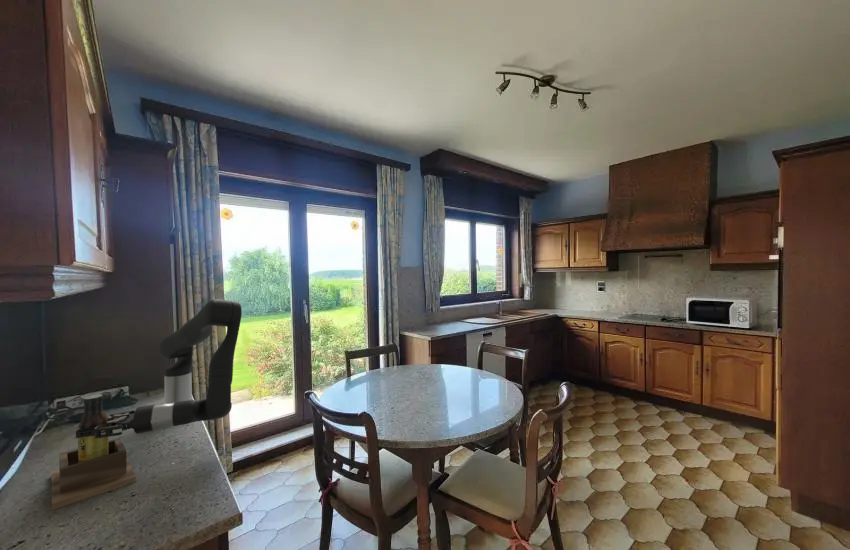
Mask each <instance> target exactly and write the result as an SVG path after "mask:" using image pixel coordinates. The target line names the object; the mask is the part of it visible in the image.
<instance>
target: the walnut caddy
mask: <svg viewBox="0 0 850 550" xmlns="http://www.w3.org/2000/svg"><path fill="white" fill-rule="evenodd" d="M108 443H109V455H105V456H102V457H98V458H95V459H91V460H87V461H84V462H80V463H78V448H75V449H71V450H67V451H63V452H60V453H59V458H58V460H59V461H58V462H59V463H58V464H59V466H58V467H59V468H58V469H55V470H51V511H54V510H56V509H60V508H62V507H66V506H69V505H72V504H74V503H78V502H81V501H84V500H87V499H89V497H90V498H92V496H93V497H96V496H98V495H101V494H105V493H107V492H110V491H114V490H115V489H118V488H121V487H125V486H128V485H131V484H133V482H134V483H136V482H137V475H136V474H135V471H134V469H133V466H132V464H131V462H130V460H129V457H128V455H127V450H126V448H125V445H124V443H123V441H122V438H121V437H118V438H114V439H110V440H109V439H108ZM86 498H87V499H86ZM83 499H84V500H83Z"/></svg>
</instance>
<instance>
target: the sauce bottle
mask: <svg viewBox="0 0 850 550" xmlns="http://www.w3.org/2000/svg"><path fill="white" fill-rule="evenodd" d="M103 401H104V395H103V394H101V393H100V394H99V393H96V394H92V395H87V396H85V397H83V401H82V403H83V410H84V411H83V415H82V416H81V420H80V421H79V425H78V426H77V430H78V429H83V428H89V427H96V426H99V425H103V424H105V423H106V422H108V417H107V416H108V415H107V413H105V412H104V411H103V409H104V408H103ZM103 431H105V430H102V431H101V432H103ZM108 441H109V437H103V438H95V436H88V437H82V438H77V449H78V463H80V462H84V461H87V460H91V459H95V458H98V457H102V456H105V455H109V443H108Z"/></svg>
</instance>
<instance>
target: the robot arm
mask: <svg viewBox="0 0 850 550" xmlns="http://www.w3.org/2000/svg"><path fill="white" fill-rule="evenodd" d="M242 311H243V310H242V305H241V304H240V302H238V301H235V300H226V299H218V298H216V299H215V298H214V299H210V300H208V301H207V302H206V303H205V304H204V306H203V307H202V308H201V309H200V310H199V311H198V313H196V314H195V315H194V316H193V317H192V318H191V319H189V320H188V321H186V322H185V323H184V324H183V325H181V327H179V328H178V329H177V330H175V331H174V332H172V333H171V334H169V335H167V336H165V337H163V338H162V339H161V341H160V343H159V346H158V353H159V355H160V356H161V358H163V359H165V360H172V359H178V358H179V359H178V360H177V361H176V362H174V363H173V364H171V365H169V366H167V367H165V368H164V372H163V373H164V374H163V375H164V381H163V382H164V402H163V403H156V404H149V405H143V406H138V407H136V409H133V410H127V411H121V412H117V413H111V414H109V415H107V417H108V422H106V423H105V424H103V425H99V426H96V427H89V428H83V429H78V428H77V430H76V431H75V438H76V439H78V438H82V437H88V436H95V438H103V437H108V438H109V437H116V436H121V435H123V433H124V432H126V431H128V430H130V429H133V433H135V434H136V435H137V434H143V433H147V432H148V433H149V432H154V431H160V430H166V429H168V428H173V427H177V426H183V425H189V424H192V423H196V422H204V421H210V420H219V419H222V418H225V417H227V416H228V414H230V412H231V411H232V406H233V404H232V385H233V384H232V383H233V378H234V356H235V351H236V346H237V340H238V336H239V332H240V326H241V322H242V321H241V320H242ZM214 326H216V327H226V335H225V336H224V338H223V340H222V342H221V344H220V345H219V346H218V347H217V349H216V350H215V352H214V354H213V355H212V357H211V359H210V361H209V367H208V379H207V380H208V386H207V387H208V388H207V393H206V398H204V399H197V400H195V399H194V400H193V399H192V397H193V395H192V394H193V393H192V385H193V384H192V375H193V374H192V367H193V354H194V346H197V345H198V344H200V343H202V342H204V341H205V340H207V339H208V338H209V337H210V336H211V335H212V333H213V327H214ZM102 430H105V431H103V432H101V431H102Z"/></svg>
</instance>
